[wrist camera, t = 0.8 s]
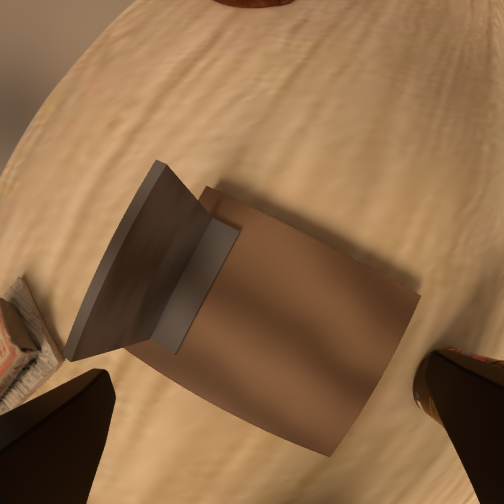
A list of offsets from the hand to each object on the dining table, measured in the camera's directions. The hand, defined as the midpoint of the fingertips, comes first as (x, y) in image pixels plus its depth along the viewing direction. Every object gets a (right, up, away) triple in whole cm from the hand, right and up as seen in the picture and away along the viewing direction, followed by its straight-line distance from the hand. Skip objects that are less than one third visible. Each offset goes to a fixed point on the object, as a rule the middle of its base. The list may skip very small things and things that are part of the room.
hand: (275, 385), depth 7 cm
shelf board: (+1, -2, +15) cm, 15 cm away
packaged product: (-28, -9, +18) cm, 34 cm away
